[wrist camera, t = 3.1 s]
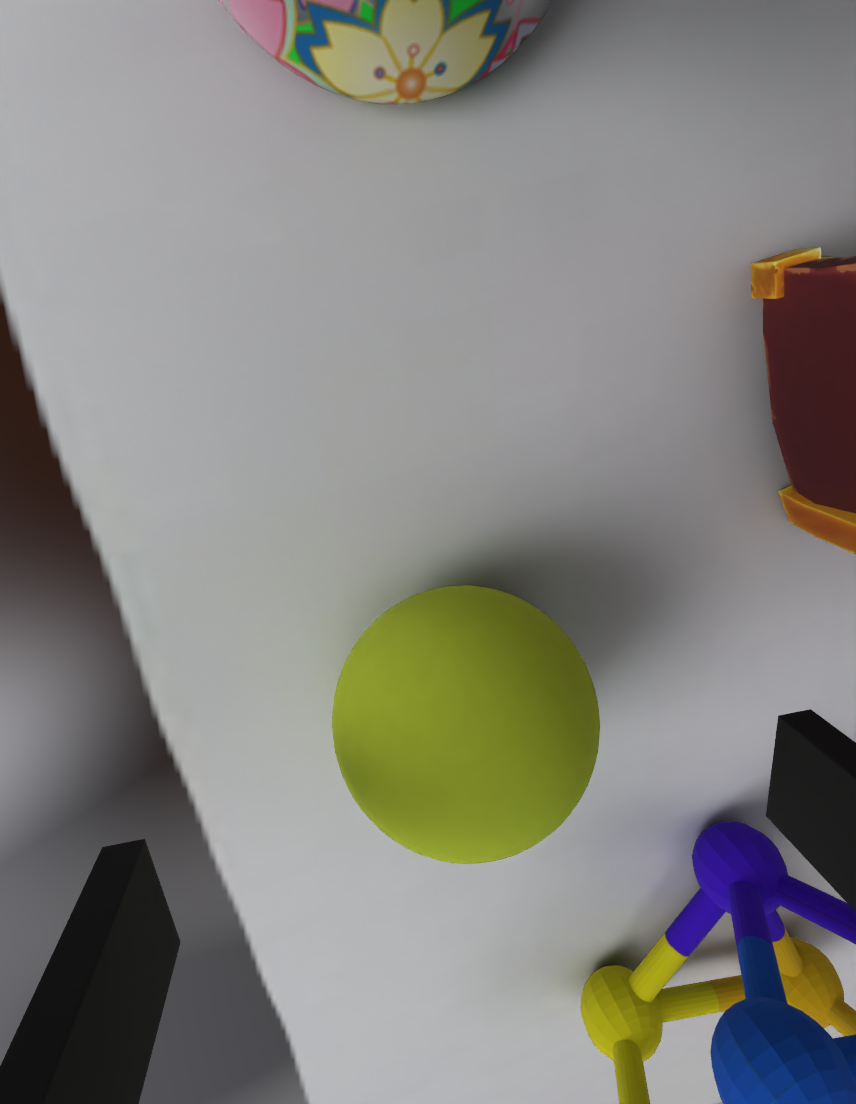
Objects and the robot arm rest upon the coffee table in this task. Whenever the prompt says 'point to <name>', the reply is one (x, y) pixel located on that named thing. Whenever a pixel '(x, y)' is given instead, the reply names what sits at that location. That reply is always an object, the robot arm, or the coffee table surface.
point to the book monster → (813, 385)
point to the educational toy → (738, 985)
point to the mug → (389, 42)
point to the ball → (466, 724)
